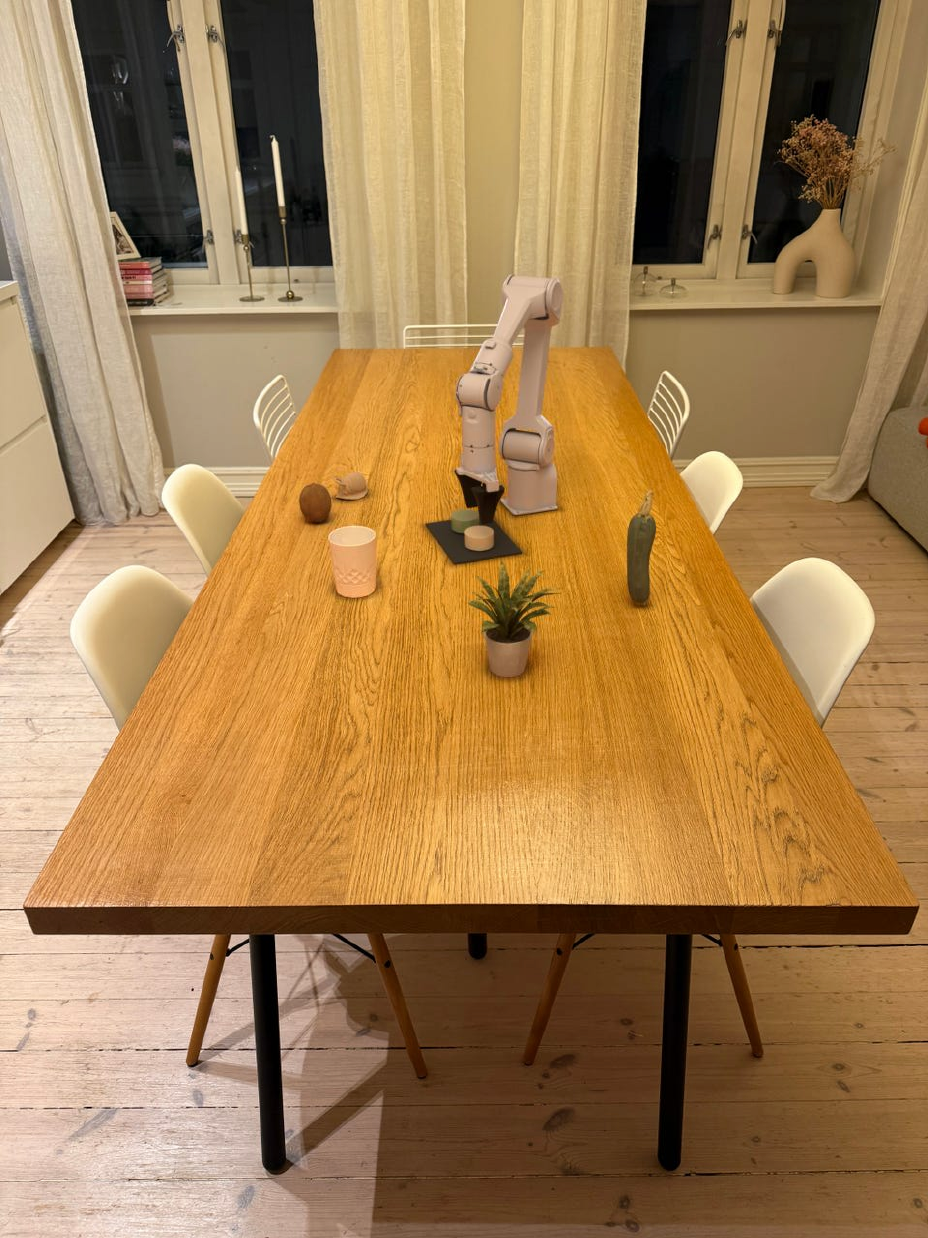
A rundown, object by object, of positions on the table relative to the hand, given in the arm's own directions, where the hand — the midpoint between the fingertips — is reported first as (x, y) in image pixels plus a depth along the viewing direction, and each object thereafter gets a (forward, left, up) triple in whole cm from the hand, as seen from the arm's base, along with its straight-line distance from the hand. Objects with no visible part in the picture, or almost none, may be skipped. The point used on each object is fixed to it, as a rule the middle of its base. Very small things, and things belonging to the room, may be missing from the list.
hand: (479, 514), depth 173 cm
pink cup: (+25, +8, -7) cm, 27 cm away
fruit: (+26, -22, -7) cm, 35 cm away
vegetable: (-17, +29, -7) cm, 34 cm away
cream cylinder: (0, 0, -6) cm, 6 cm away
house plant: (+10, +41, -7) cm, 43 cm away
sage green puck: (0, -8, -6) cm, 10 cm away
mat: (0, -4, -7) cm, 8 cm away
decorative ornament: (+17, -32, -7) cm, 37 cm away
